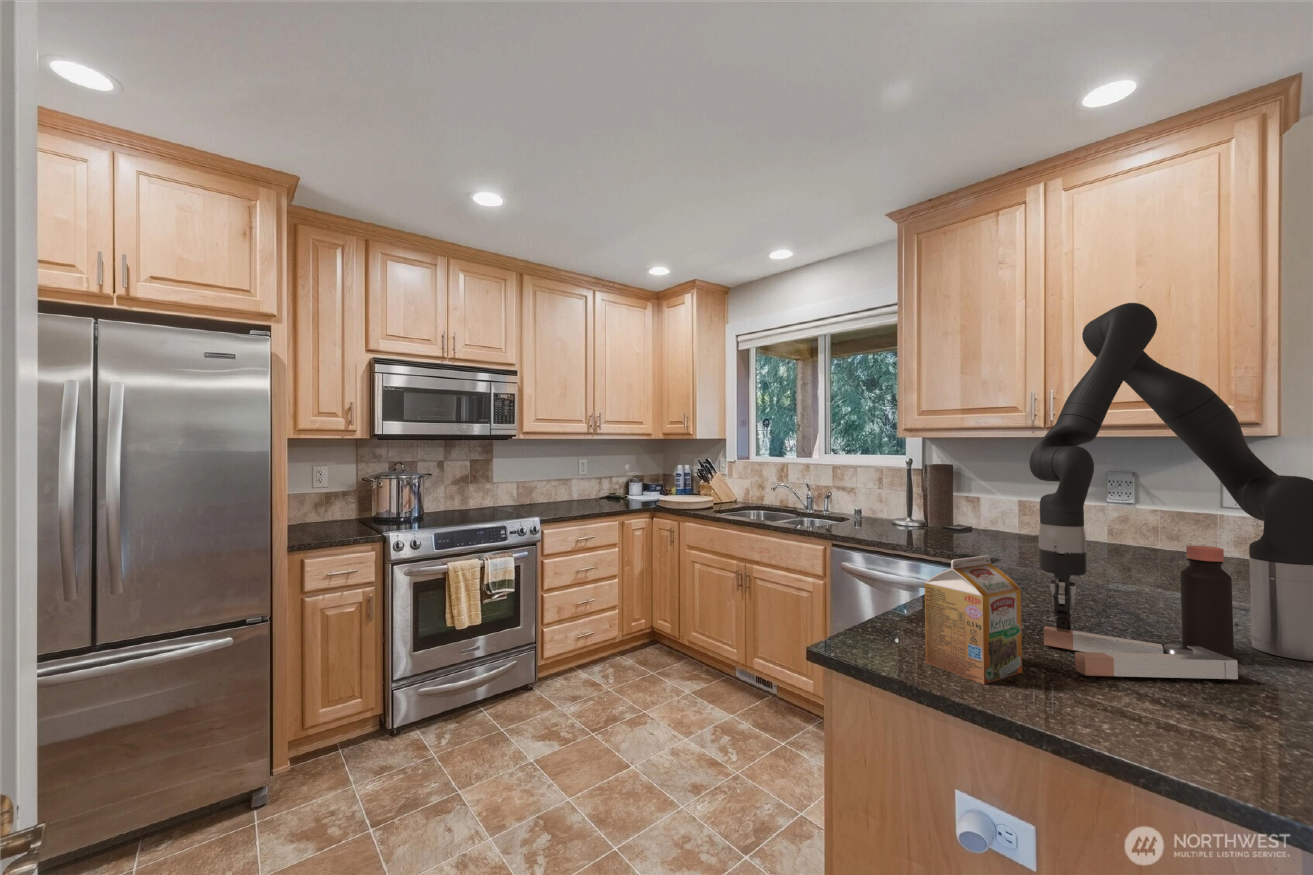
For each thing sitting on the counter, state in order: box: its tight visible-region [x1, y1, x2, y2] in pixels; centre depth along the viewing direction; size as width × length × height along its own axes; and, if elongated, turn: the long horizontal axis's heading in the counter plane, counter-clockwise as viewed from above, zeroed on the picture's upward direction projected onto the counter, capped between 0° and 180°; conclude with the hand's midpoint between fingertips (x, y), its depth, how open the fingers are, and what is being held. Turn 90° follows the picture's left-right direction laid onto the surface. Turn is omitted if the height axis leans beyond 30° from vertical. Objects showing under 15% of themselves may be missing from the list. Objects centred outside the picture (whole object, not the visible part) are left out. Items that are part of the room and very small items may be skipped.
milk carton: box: [924, 555, 1023, 685], centre depth 97 cm, size 11×11×19 cm
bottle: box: [1179, 544, 1235, 659], centre depth 102 cm, size 7×7×20 cm
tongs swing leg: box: [1043, 625, 1193, 655], centre depth 101 cm, size 21×4×3 cm, turn 52°
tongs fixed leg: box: [1074, 646, 1239, 680], centre depth 94 cm, size 24×7×3 cm, turn 87°
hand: (1063, 637), depth 108 cm, fingers closed
